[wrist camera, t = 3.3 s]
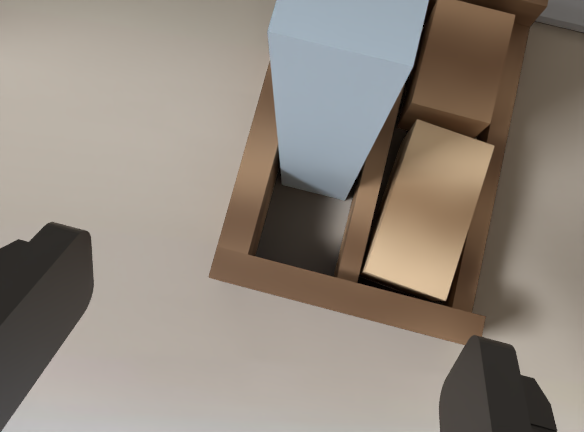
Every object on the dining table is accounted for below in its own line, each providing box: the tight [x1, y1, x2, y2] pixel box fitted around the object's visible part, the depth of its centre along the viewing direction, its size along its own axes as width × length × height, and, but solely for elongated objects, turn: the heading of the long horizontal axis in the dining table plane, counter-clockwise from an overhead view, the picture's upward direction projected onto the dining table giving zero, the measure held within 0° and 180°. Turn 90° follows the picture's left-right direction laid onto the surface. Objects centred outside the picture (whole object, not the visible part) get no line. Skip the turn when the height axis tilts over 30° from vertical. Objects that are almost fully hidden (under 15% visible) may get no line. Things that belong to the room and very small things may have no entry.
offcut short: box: [397, 0, 515, 139], centre depth 29 cm, size 6×4×4 cm, turn 164°
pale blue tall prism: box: [267, 0, 429, 201], centre depth 22 cm, size 7×4×17 cm, turn 165°
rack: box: [209, 0, 548, 345], centre depth 28 cm, size 19×13×4 cm
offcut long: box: [359, 119, 495, 301], centre depth 27 cm, size 8×4×4 cm, turn 160°
